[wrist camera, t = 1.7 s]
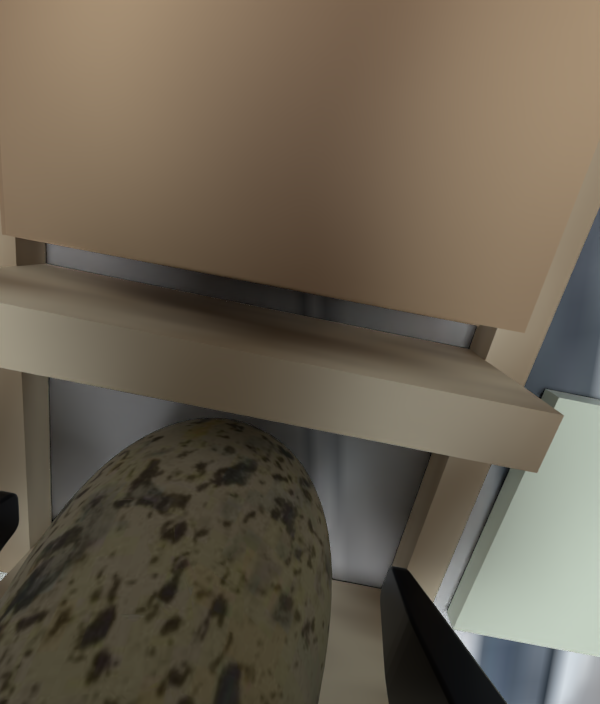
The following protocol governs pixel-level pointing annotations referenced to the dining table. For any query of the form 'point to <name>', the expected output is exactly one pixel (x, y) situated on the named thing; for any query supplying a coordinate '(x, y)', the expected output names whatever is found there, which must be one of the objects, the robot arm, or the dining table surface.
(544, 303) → the slot rack
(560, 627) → the tile
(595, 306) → the dining table surface
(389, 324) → the dining table surface
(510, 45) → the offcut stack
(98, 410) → the dining table surface
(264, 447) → the decorative egg
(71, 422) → the dining table surface
